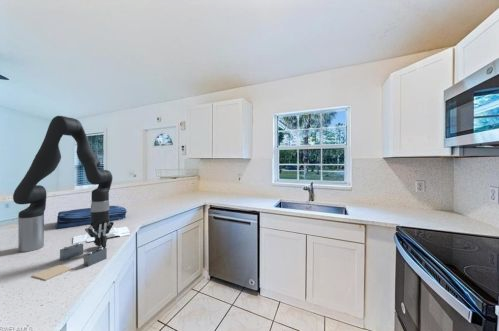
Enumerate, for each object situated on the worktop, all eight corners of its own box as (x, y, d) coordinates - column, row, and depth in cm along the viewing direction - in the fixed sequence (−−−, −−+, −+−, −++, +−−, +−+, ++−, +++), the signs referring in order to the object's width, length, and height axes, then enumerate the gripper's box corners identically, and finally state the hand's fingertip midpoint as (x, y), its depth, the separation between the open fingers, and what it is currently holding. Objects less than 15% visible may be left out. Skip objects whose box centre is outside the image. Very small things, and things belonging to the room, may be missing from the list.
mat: (31, 276, 80) (31, 275, 80) (59, 266, 89) (59, 264, 89) (45, 281, 77) (45, 279, 77) (72, 269, 86) (72, 268, 86)
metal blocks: (59, 260, 94) (59, 248, 94) (79, 253, 101) (79, 242, 101) (88, 267, 88) (88, 254, 88) (106, 259, 95) (106, 247, 95)
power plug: (99, 251, 101) (95, 232, 107) (95, 261, 103) (92, 241, 110) (112, 248, 105) (107, 230, 111) (108, 257, 108) (104, 239, 114)
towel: (127, 219, 165) (127, 206, 165) (55, 230, 136) (55, 215, 136) (121, 214, 183) (121, 202, 183) (56, 223, 154) (56, 209, 154)
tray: (73, 236, 126) (73, 230, 126) (125, 228, 144) (125, 222, 144) (72, 247, 111) (72, 240, 111) (131, 235, 129) (131, 230, 129)
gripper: (107, 206, 109) (107, 238, 110) (80, 212, 97) (80, 248, 97) (118, 207, 107) (118, 240, 107) (91, 213, 94) (91, 250, 94)
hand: (100, 244), depth 102 cm, fingers closed
